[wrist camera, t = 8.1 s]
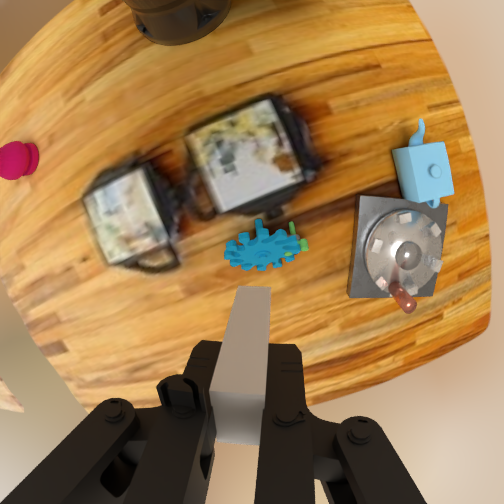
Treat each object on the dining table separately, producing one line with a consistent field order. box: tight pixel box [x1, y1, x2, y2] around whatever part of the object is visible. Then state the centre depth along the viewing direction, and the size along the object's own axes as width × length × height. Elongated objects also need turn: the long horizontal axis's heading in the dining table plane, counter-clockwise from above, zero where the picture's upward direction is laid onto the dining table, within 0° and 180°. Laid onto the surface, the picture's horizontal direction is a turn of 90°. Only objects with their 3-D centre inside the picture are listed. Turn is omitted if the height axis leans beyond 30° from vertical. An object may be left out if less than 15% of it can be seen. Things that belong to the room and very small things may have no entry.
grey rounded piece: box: [365, 209, 443, 313], centre depth 34 cm, size 12×12×8 cm
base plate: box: [347, 194, 448, 298], centre depth 39 cm, size 15×15×2 cm
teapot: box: [392, 118, 454, 208], centre depth 32 cm, size 12×6×8 cm, turn 17°
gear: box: [224, 219, 309, 271], centre depth 39 cm, size 11×6×10 cm
